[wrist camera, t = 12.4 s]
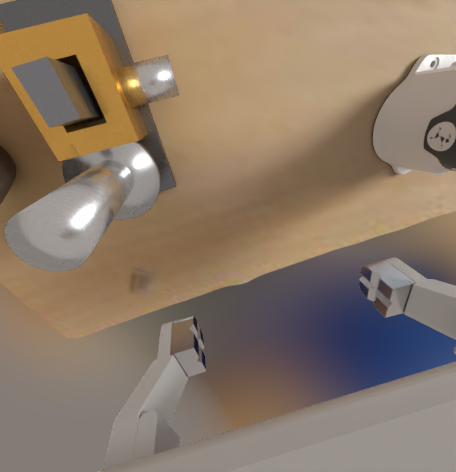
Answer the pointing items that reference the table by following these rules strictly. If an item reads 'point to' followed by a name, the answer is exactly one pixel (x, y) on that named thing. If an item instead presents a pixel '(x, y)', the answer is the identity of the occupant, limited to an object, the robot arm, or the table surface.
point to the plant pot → (6, 173)
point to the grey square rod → (59, 92)
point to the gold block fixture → (87, 129)
